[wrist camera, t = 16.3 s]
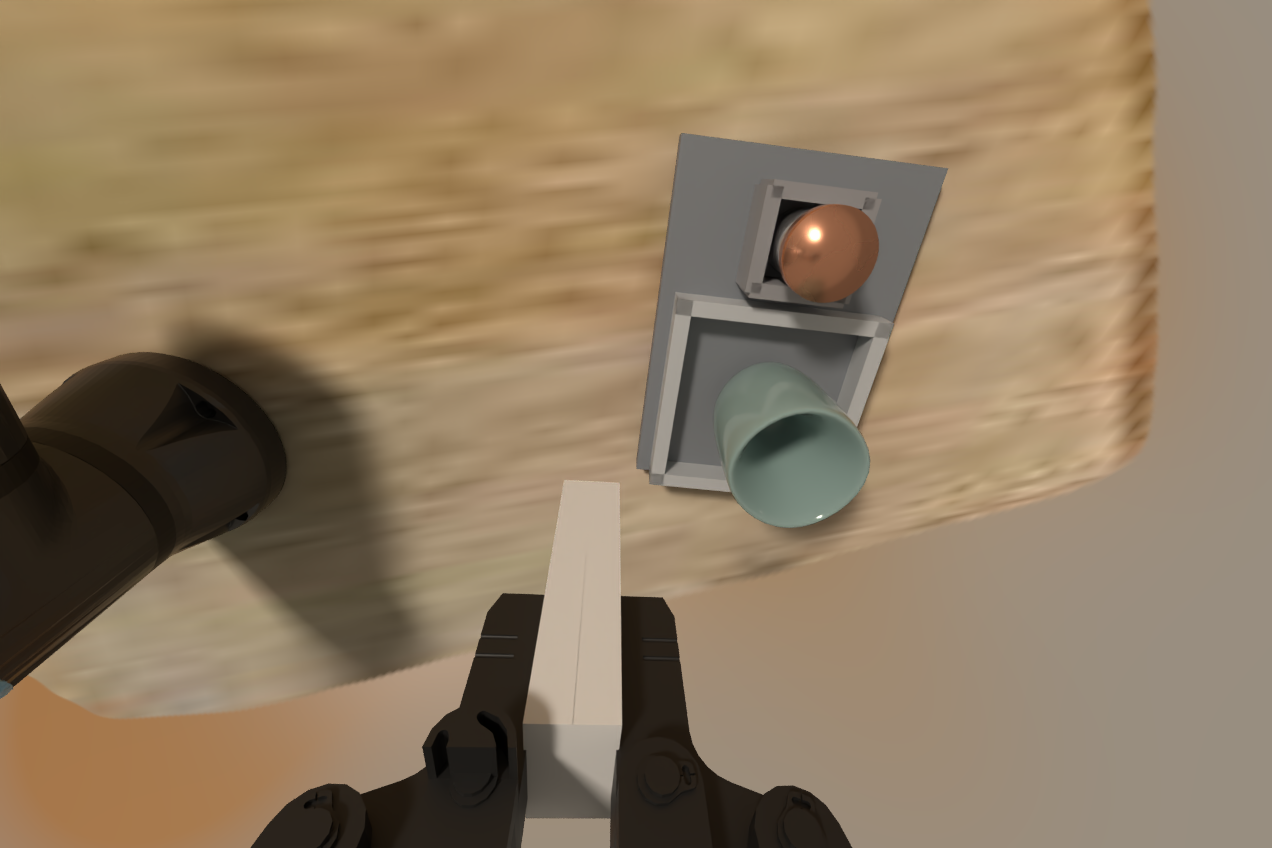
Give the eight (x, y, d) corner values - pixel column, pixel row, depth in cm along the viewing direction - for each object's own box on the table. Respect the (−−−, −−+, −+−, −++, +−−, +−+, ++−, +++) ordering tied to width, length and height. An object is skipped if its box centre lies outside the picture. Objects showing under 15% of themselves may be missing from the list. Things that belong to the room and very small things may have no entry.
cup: (768, 325, 33) (816, 379, 24) (833, 399, 36) (899, 473, 27) (683, 398, 36) (699, 472, 27) (750, 463, 38) (785, 550, 29)
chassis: (636, 458, 40) (636, 492, 36) (679, 135, 29) (686, 128, 25) (826, 477, 41) (848, 512, 36) (934, 168, 30) (982, 167, 26)
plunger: (750, 276, 31) (774, 297, 26) (768, 194, 29) (797, 198, 24) (823, 285, 31) (861, 307, 26) (846, 204, 29) (892, 211, 24)
